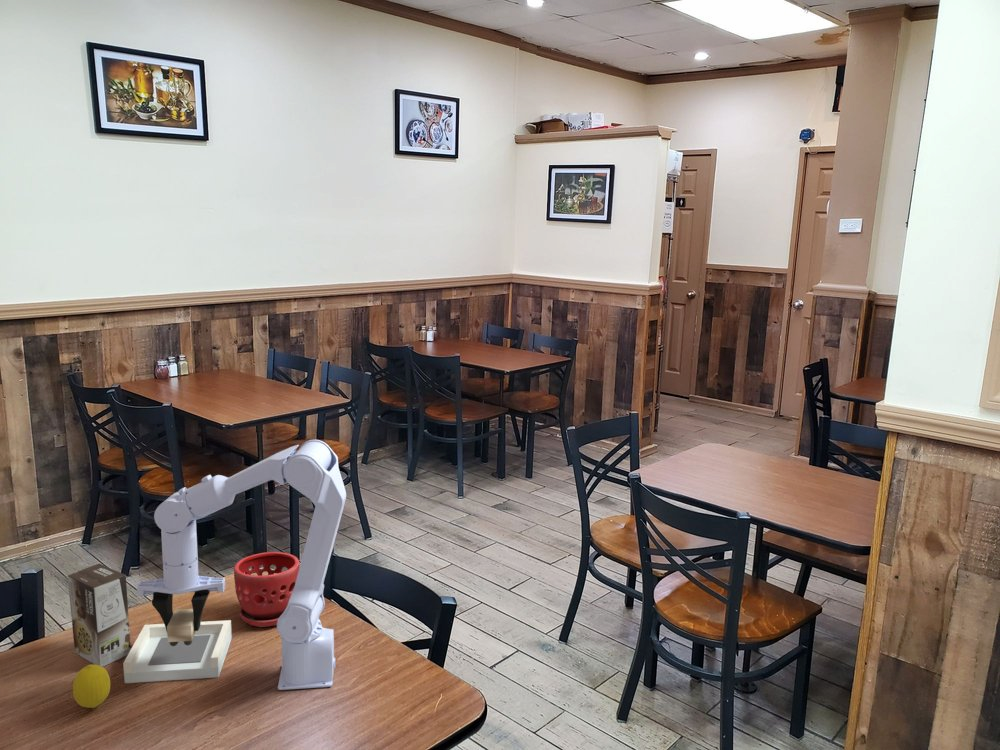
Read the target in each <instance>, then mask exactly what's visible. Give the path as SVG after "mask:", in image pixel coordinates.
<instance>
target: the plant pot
mask: <svg viewBox="0 0 1000 750" xmlns="http://www.w3.org/2000/svg"><path fill="white" fill-rule="evenodd" d="M261 566H263V568H261ZM271 566H275V569H271ZM250 567H251V569H250ZM283 568H286V569H287V570H285V571H283ZM299 568H300V560H299V558H298V557H297V556H295V555H293V554H291V553H288V552H280V551H268V552H260V553H257V554H252V555H249V556H245V557H243V558H242V559H240V560H238V561H237V562H236V564H235V565H234V570H233V576H234V578H233V579H234V590H235V594H236V597H237V600H238V602H239V605H240V609H239V617H240V618H241V620H242V621H243V622H244V623H246V624H247V625H250V626H255V627H271V626H273V627H275V626H277V622H278V619H279V617H280V616H281V615H282V614H283V612H284V611H285V609H286V607H287V605H288V602H289V599H290V597H291V594H292V592H293V589H294V586H295V583H296V579H297V575H298V571H299ZM264 572H265V573H267V574H266V575H265V574H264V575H263V573H264ZM254 574H256V575H254Z"/></svg>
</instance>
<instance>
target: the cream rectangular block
mask: <svg viewBox="0 0 1000 750" xmlns="http://www.w3.org/2000/svg"><path fill="white" fill-rule="evenodd" d="M194 634H195V631H194V614H193V608H181V609H179V608H178V609H175V610H173V615H172V617H171V619H170V622H169V624H168V626H167V637H168V642H170V645H171V646H176V645H177V644H178V642H180V641H184V644H185V645H190V644H191V643H192V639H193V636H194Z"/></svg>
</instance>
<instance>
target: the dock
mask: <svg viewBox="0 0 1000 750" xmlns="http://www.w3.org/2000/svg"><path fill="white" fill-rule="evenodd" d="M232 639H233V638H232V620H231V619H227V620H211V621H209V620H207V621H201V623H200V628H199V630H198V631H195V634H194V636H193V639H192V643H191V644H190V645H185V644H184V641H180V642H178V644H177V645H176V646H171V645H170V642H168V637H167V631H166V627H165V624H164V623H156V624H155V623H154V624H153V623H152V624H151V623H150V624H144V625H143V627H142V629H141V631H140V632H139V635H138V636H137V638H136V640H135V641H134V643H133V645H132V646H131V650H130V652H129V654H128V655H127V656H125V659H124V661H123V663H122V665H123V676H124V678H123V679H124V684H135V683H153V682H164V681H167V682H168V681H181V680H182V681H183V680H195V679H196V680H198V679H211V678H213V679H214V678H220V675H221V671H222V668H223V666H224V662H225V659H226V657H227V654H228V650H229V648H230V645H231V641H232Z"/></svg>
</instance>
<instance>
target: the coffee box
mask: <svg viewBox="0 0 1000 750" xmlns="http://www.w3.org/2000/svg"><path fill="white" fill-rule="evenodd" d="M67 585H68V596H69V605H70V606H69V608H70V613H71V614H70V616H71V626H72V638H73V649H74V654H76V653H77V654H76V655H78V656H79V655H80V656H79V657H81V658H83V659H85V660H86V661H88V662H90V664H91V663H92V665H100V666H102V667H105V666H107V665H109V664H112V663H114V662H116V661H118V660H120V659H122V658H126V657H127V656H128V654H129V652H130V650H131V648H132V646H131V631H130V630H131V629H130V617H129V604H128V603H129V602H128V601H129V600H128V588H127V587H128V586H127V575H126V574H124V573H123V572H119V571H117V570H115V569H114V568H110V567H108V566H105V564H102V563H97V564H93V565H91V566H88V567H87V568H86V567H85V568H84V569H81V570H78V571H76V572H73V573H70V574H68V575H67Z"/></svg>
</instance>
